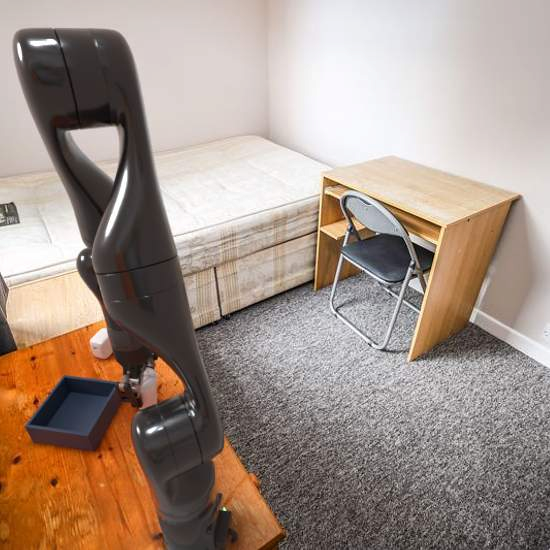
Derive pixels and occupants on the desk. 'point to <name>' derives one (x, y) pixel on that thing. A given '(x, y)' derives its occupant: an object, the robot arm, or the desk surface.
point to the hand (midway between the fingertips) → (144, 392)
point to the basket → (75, 413)
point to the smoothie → (148, 388)
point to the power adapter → (101, 344)
